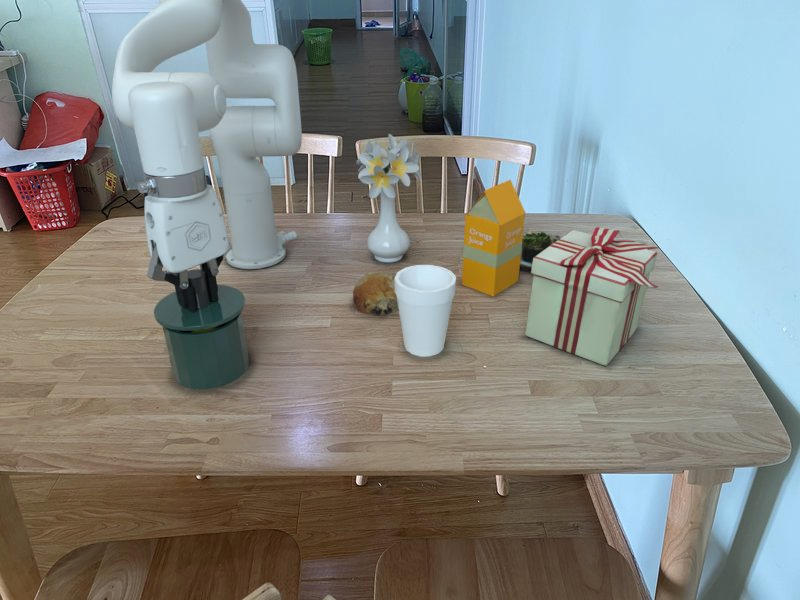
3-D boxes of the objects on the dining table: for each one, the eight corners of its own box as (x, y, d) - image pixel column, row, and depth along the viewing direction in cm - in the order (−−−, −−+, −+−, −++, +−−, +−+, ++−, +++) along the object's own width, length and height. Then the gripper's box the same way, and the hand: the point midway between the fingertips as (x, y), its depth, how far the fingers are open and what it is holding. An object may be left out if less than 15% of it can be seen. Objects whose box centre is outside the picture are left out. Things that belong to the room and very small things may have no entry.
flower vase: (359, 278, 121) (354, 155, 109) (360, 241, 137) (356, 130, 125) (423, 276, 122) (426, 154, 109) (417, 240, 138) (419, 130, 126)
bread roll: (410, 317, 115) (416, 275, 114) (393, 321, 105) (400, 275, 104) (362, 309, 117) (367, 268, 117) (341, 312, 108) (347, 267, 107)
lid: (220, 283, 97) (214, 247, 94) (262, 312, 88) (257, 274, 85) (141, 310, 89) (132, 272, 86) (178, 345, 81) (169, 304, 78)
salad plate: (483, 240, 137) (484, 222, 135) (556, 233, 141) (558, 215, 138) (515, 278, 121) (517, 257, 119) (597, 269, 124) (600, 249, 122)
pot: (227, 342, 101) (218, 289, 96) (262, 371, 93) (254, 315, 89) (162, 368, 94) (149, 313, 89) (194, 402, 87) (182, 344, 82)
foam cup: (412, 371, 93) (412, 297, 87) (385, 342, 100) (384, 272, 94) (464, 354, 97) (467, 283, 91) (434, 328, 104) (436, 260, 98)
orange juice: (461, 284, 119) (465, 186, 109) (486, 269, 124) (493, 175, 115) (494, 296, 114) (502, 195, 104) (519, 281, 120) (529, 183, 110)
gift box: (633, 376, 92) (656, 275, 83) (520, 341, 101) (530, 246, 92) (658, 327, 104) (680, 235, 96) (556, 299, 113) (568, 212, 105)
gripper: (135, 205, 71) (165, 336, 80) (244, 172, 83) (260, 290, 92) (102, 192, 76) (134, 318, 84) (210, 163, 87) (228, 277, 96)
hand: (199, 302), depth 88 cm, fingers closed on lid, 3 cm apart
